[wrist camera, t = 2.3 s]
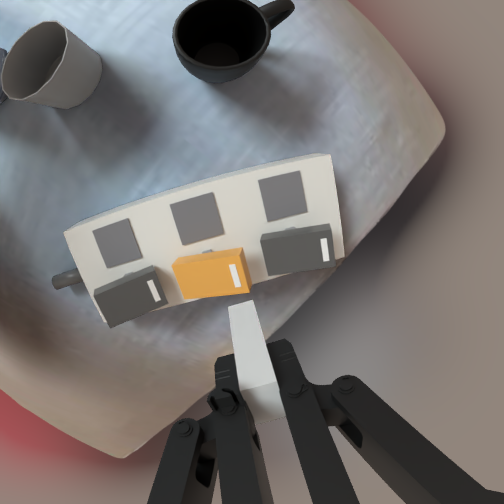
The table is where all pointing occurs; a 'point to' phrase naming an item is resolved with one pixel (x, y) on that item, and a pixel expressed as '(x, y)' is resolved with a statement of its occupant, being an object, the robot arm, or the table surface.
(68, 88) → the cup
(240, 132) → the table surface
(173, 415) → the table surface
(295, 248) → the rocker
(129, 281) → the grey box
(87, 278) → the power strip
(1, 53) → the juice carton
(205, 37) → the mug
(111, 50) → the table surface
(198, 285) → the orange rectangular box
